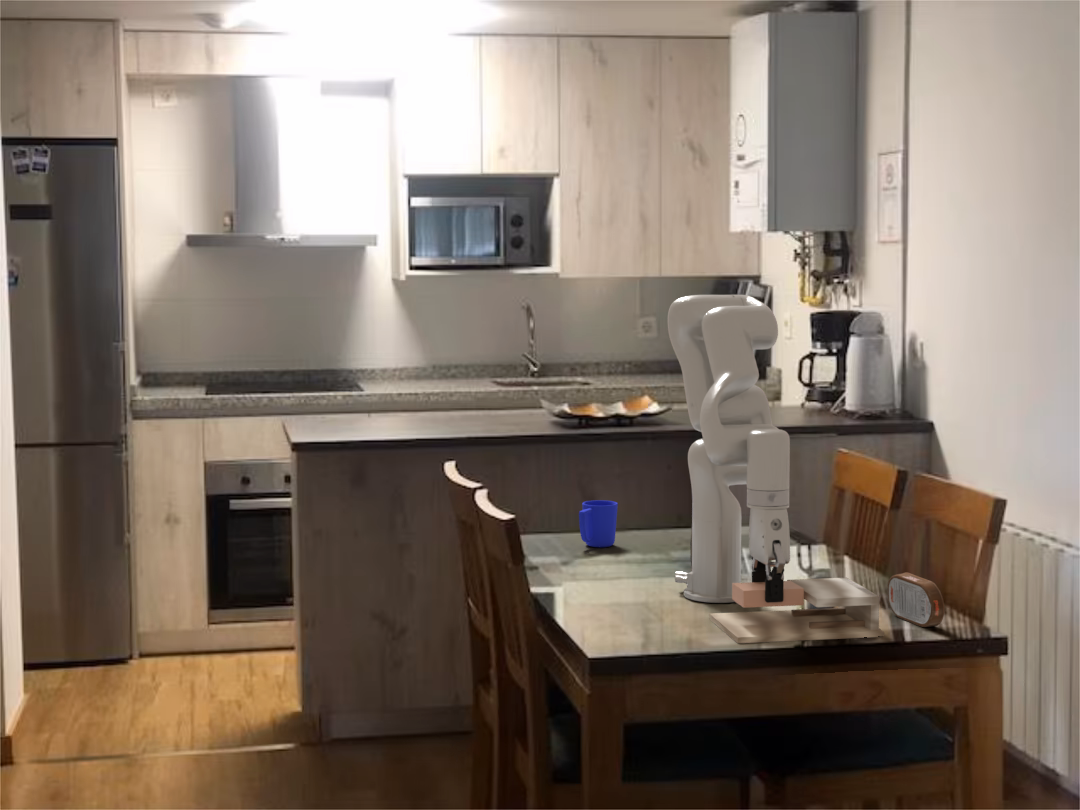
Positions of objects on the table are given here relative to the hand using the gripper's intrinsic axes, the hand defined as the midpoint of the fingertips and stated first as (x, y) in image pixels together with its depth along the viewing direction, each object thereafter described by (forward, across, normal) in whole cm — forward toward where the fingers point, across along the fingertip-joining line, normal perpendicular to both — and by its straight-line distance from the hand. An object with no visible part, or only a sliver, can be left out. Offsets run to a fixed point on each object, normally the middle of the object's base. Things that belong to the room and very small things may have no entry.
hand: (767, 596), depth 269 cm
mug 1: (+5, +82, +15) cm, 84 cm away
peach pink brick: (+1, 0, 0) cm, 1 cm away
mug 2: (+5, +52, -4) cm, 52 cm away
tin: (+6, +1, -28) cm, 29 cm away
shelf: (+6, 0, -5) cm, 8 cm away
